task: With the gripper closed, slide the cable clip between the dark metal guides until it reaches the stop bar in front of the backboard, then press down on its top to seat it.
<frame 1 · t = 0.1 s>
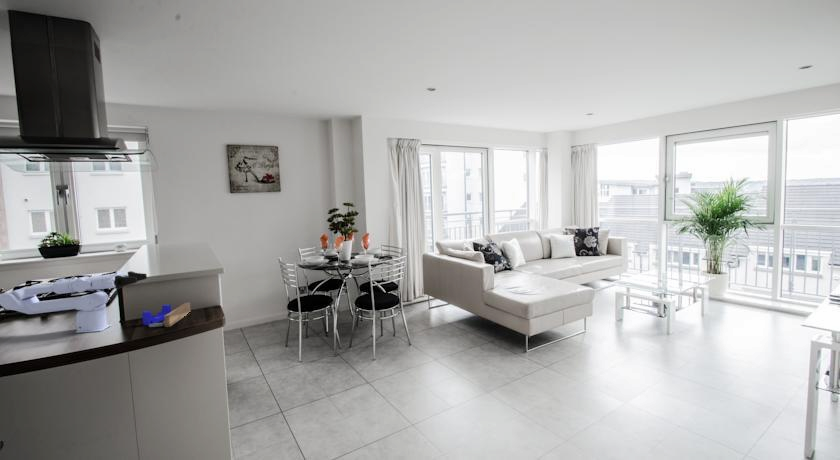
hand: (141, 278, 166), 22 cm above the countertop, tool horizontal, fingers open, 7 cm apart
mounting rail: (166, 320, 176), on the countertop
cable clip: (156, 321, 175), on the countertop
backboard: (178, 319, 177), on the countertop
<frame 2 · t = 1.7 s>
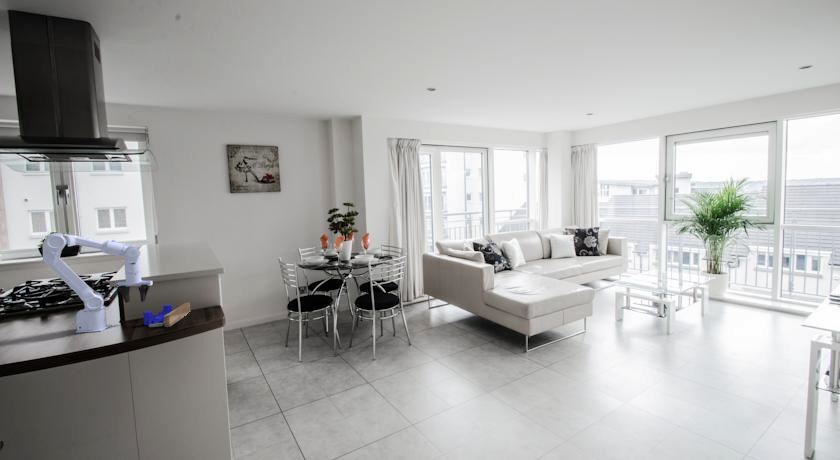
hand: (135, 301, 173), 9 cm above the countertop, tool pointing down, fingers open, 6 cm apart
nothing on the countertop moved.
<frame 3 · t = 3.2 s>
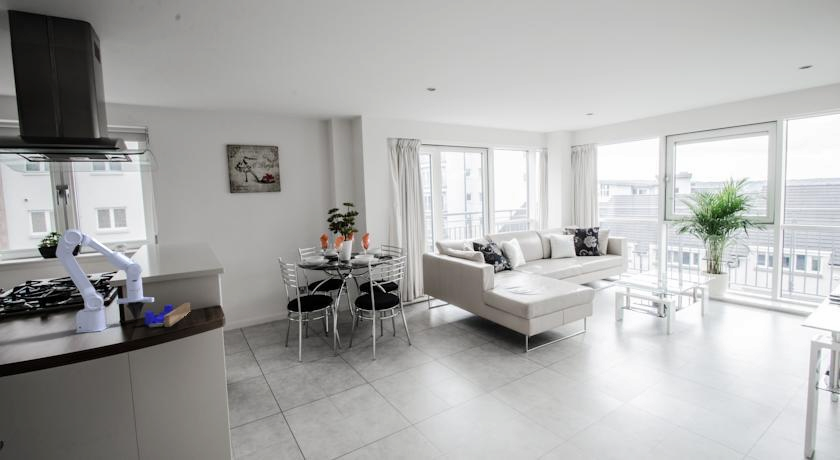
hand: (137, 318, 174), 2 cm above the countertop, tool pointing down, fingers closed
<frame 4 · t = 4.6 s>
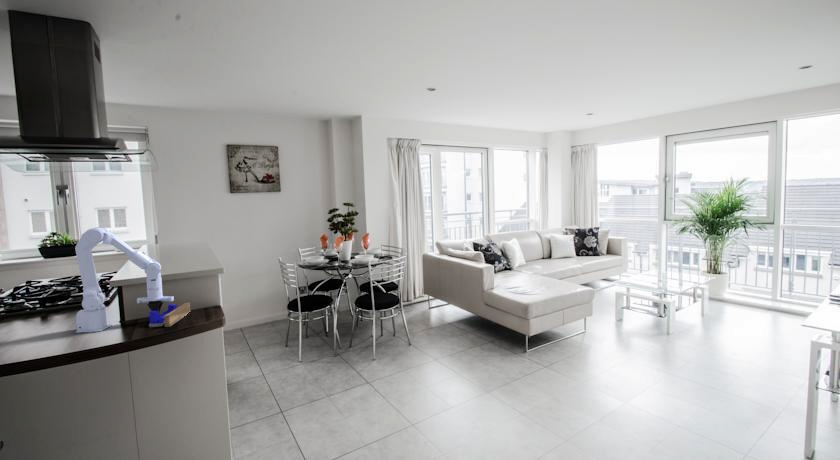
hand: (156, 317, 175), 2 cm above the countertop, tool pointing down, fingers closed, pressing on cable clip
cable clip: (162, 321, 175), on the countertop, touching gripper, mounting rail
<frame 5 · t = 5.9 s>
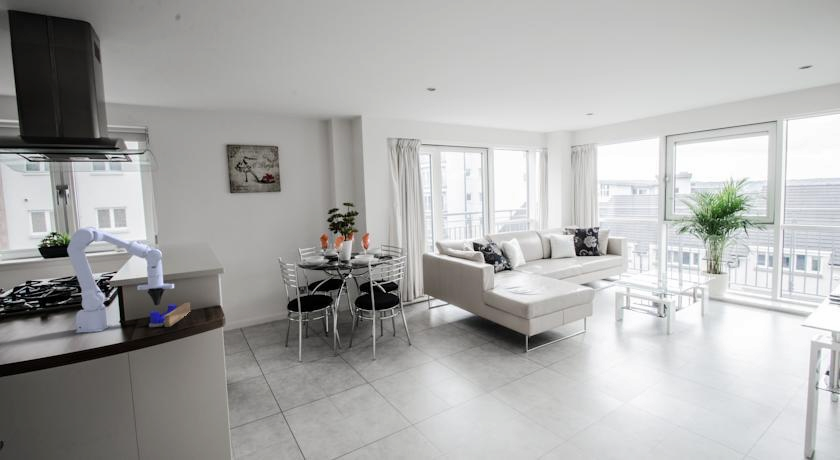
hand: (157, 304, 175), 7 cm above the countertop, tool pointing down, fingers closed
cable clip: (162, 321, 175), on the countertop
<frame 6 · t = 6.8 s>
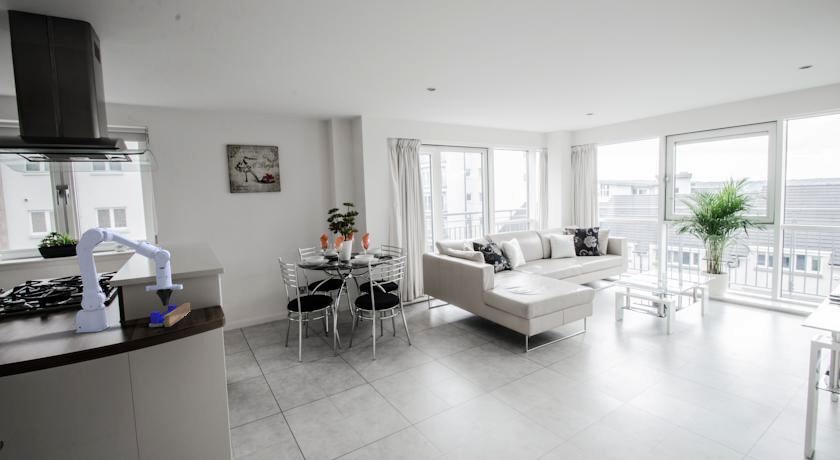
hand: (165, 305, 175), 7 cm above the countertop, tool pointing down, fingers closed
nothing on the countertop moved.
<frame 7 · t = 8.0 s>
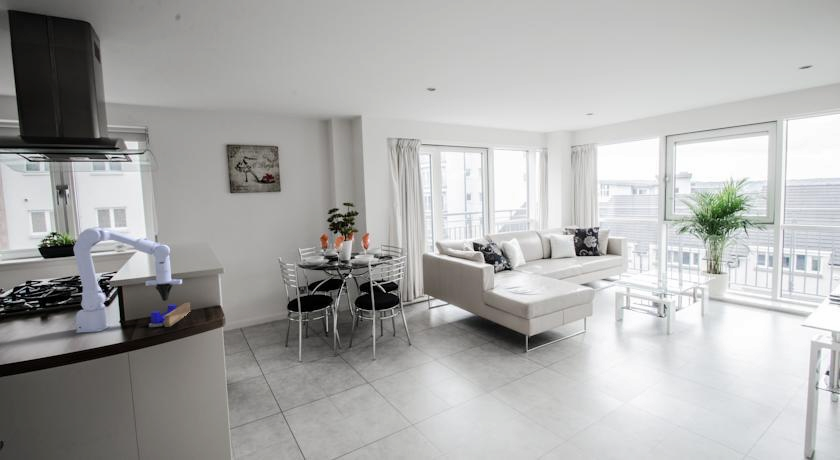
hand: (165, 300, 175), 9 cm above the countertop, tool pointing down, fingers closed
nothing on the countertop moved.
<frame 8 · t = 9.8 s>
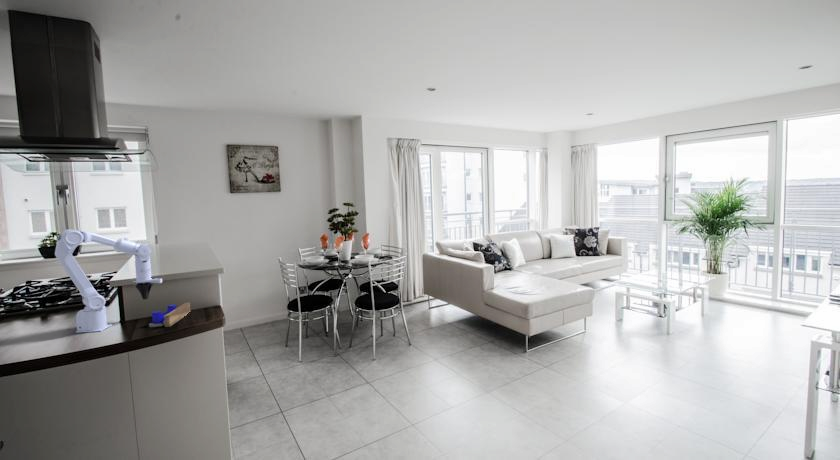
hand: (145, 298, 178), 9 cm above the countertop, tool pointing down, fingers closed
nothing on the countertop moved.
at the end: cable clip 1.6 cm from the target spot, on the countertop; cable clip tilted 0°; the gripper is holding nothing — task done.
